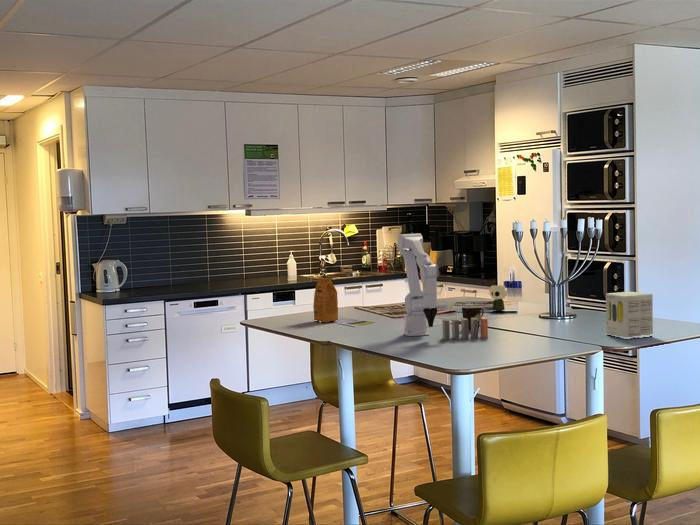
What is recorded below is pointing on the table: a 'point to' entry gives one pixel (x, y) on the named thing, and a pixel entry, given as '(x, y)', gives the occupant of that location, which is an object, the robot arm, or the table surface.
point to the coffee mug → (472, 313)
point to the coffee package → (325, 301)
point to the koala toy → (498, 297)
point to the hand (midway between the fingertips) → (430, 326)
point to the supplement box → (629, 314)
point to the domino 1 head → (446, 329)
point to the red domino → (483, 327)
